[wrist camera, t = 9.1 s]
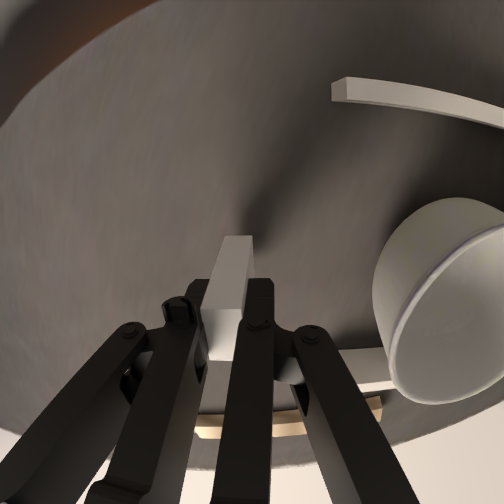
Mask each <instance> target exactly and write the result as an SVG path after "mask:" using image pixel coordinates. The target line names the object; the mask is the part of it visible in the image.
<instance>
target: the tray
mask: <svg viewBox="0 0 504 504" xmlns="http://www.w3.org/2000/svg"><path fill="white" fill-rule="evenodd" d="M331 94H332V101H335V102H350V103H363V104H373V105H383V106H391V107H399V108H406V109H413V110H419V111H425V112H431V113H436V114H441V115H446V116H451V117H456V118H460V119H465V120H469V121H473V122H477V123H481V124H485V125H489V126H492V127H496V128H499V129H503V130H504V109H503V108H500V107H497V106H494V105H491V104H488V103H484V102H481V101H478V100H474V99H471V98H467V97H463V96H460V95H456V94H452V93H447V92H443V91H439V90H434V89H429V88H425V87H419V86H414V85H408V84H402V83H396V82H389V81H382V80H374V79H366V78H356V77H344V78H342V79H340V80H338V81H335V82H333V83H331ZM338 351H339V353H340V355H341V356H342V358H343V360H344V362H345V364H346V365H347V367H348V369H349V371H350V372H351V374H352V376H353V378H354V380H355V382H356V383H357V385H358V387H359V389H360V391H361V392H368V391H377V390H385V389H393V388H396V387H395V386H394V384H393V382H392V379H391V377H390V373H389V368H388V358H387V355H386V352H385V349H384V347H376V348H363V349H348V350H338Z"/></svg>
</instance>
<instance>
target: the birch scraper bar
mask: <svg viewBox="0 0 504 504" xmlns="http://www.w3.org/2000/svg"><path fill="white" fill-rule="evenodd" d="M365 400H366V402H367V403H368V405H369V407H370V409H371V411H372V413H373V414H374V416H375V418H376V420H377V422H379V421H380V419H381V414H382V409H383V408H382V404H381V400H380V396H376V397H371V398H367V399H365ZM223 419H224V415H198V416H197V420H196V425H195V429H194V433H197V434H198V435H199V437H200V438H220V439H221V432H222V426H223ZM300 434H307V432H306V429H305V426H304V423H303V421H302V418H301V415H300V412H299V409H298V410H288V411H278V412H273V431H272V437H278V436H290V435H300Z"/></svg>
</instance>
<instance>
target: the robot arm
mask: <svg viewBox="0 0 504 504" xmlns="http://www.w3.org/2000/svg"><path fill="white" fill-rule="evenodd" d="M161 306H162V310H163V314H164V318H165V322H166V323H165V325H164V327H161V328H157V329H151V330H146V327H145V326H144V325H143V324H142V323H139V322H128V323H126V324H123V325H121V326H120V327H119V328H118V329H117V330H116V331H115V332H114V333H113V334H112V335H111V336H110V337H109V338H108V339H107V340H106V341H105V342H104V343H103V345H102V346H101V347H100V348H99V349H98V350H97V351H96V352H95V353H94V354H93V355H92V356H91V358H90V359H89V360H88V361H87V362H86V363H85V364H84V365H83V366H82V367H81V369H80V370H79V371H78V372H77V373H76V374H75V375H74V376H73V377H72V379H71V380H70V381H69V382H68V383H67V384H66V385H65V386H64V388H63V389H62V390H61V391H60V392H59V393H58V394H57V395H56V397H55V398H54V399H53V400H52V401H51V402H50V403H49V405H48V406H47V407H46V408H45V409H44V410H43V412H42V413H41V414H40V415H39V416H38V417H37V419H36V420H35V421H34V422H33V423H32V425H31V426H30V427H29V428H28V429H27V431H26V432H25V433H24V434H23V435H22V437H21V438H20V439H19V440H18V442H17V443H16V444H15V445H14V447H13V448H12V449H11V450H10V451H9V453H8V454H7V455H6V456H5V458H4V459H3V460H2V461H1V463H0V504H76V502H77V501H78V499H79V498H80V496H81V495H82V494H83V492H84V491H85V489H86V488H87V486H88V485H89V483H90V482H91V480H92V479H93V477H94V476H95V475H96V473H97V472H98V470H99V469H100V467H101V466H102V464H103V463H104V461H105V460H106V458H107V457H108V455H109V454H110V453H111V451H112V450H113V448H114V447H115V445H116V447H115V450H114V453H113V456H112V458H111V461H110V464H109V467H108V470H107V473H106V475H105V477H104V478H103V479H102V480H99V481H96V482H94V483H93V484H92V485H91V487H90V489H89V490H88V493H87V496H86V499H85V501H84V504H179V502H180V497H181V491H182V487H183V482H184V477H185V472H186V467H187V463H188V458H189V453H190V448H191V444H192V439H193V434H194V429H195V425H196V420H197V416H198V411H199V406H200V402H201V397H202V393H203V388H204V384H205V379H206V375H207V370H208V366H207V361H206V359H207V355H208V353H209V358H210V360H222V361H233V362H232V368H231V374H230V381H229V387H228V394H227V400H226V407H225V413H224V419H223V426H222V432H221V439H220V445H219V452H218V458H217V465H216V471H215V478H214V484H213V491H212V497H211V501H210V504H270V484H271V460H272V431H273V393H274V380H277V381H281V382H285V383H289V384H290V387H291V390H292V393H293V395H294V398H295V401H296V404H297V407H298V409H299V412H300V415H301V418H302V421H303V423H304V426H305V429H306V432H307V435H308V437H309V440H310V443H311V446H312V448H313V451H314V454H315V457H316V459H317V462H318V465H319V468H320V470H321V473H322V476H323V479H324V481H325V484H326V487H327V489H328V492H329V495H330V498H331V500H332V503H333V504H420V503H419V501H418V499H417V497H416V495H415V493H414V491H413V489H412V487H411V485H410V483H409V481H408V479H407V477H406V475H405V473H404V471H403V469H402V467H401V466H400V464H399V462H398V460H397V458H396V456H395V454H394V452H393V450H392V448H391V446H390V444H389V443H388V441H387V439H386V437H385V435H384V433H383V431H382V429H381V427H380V426H379V424H378V422H377V420H376V418H375V416H374V414H373V413H372V411H371V409H370V407H369V405H368V403H367V402H366V400H365V398H364V396H363V394H362V392H361V391H360V389H359V387H358V385H357V383H356V382H355V380H354V378H353V376H352V374H351V372H350V371H349V369H348V367H347V365H346V364H345V362H344V360H343V358H342V356H341V355H340V353H339V351H338V349H337V347H336V346H335V344H334V342H333V340H332V339H331V337H330V335H329V333H328V332H327V331H326V330H325V329H323V328H321V327H320V326H315V325H305V326H302V327H299V328H298V329H296V330H295V331H294V332H292V331H288V330H284V329H282V328H281V327H279V326H278V325H277V324H276V322H275V320H274V283H273V282H272V281H271V279H270V278H254V260H253V239H252V235H245V236H225V237H224V240H223V243H222V246H221V249H220V252H219V255H218V257H217V260H216V263H215V266H214V269H213V272H212V275H211V278H210V279H195V280H194V281H193V282H192V283H191V284H190V285H189V286H188V289H187V291H186V293H185V296H178V297H173V298H170V299H168V300H166V301H165V302H164V303H163V304H162V305H161ZM127 369H129V370H128V371H127ZM126 371H127V372H126ZM125 372H126V373H125ZM124 373H125V374H124Z"/></svg>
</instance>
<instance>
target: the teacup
mask: <svg viewBox="0 0 504 504" xmlns="http://www.w3.org/2000/svg"><path fill="white" fill-rule="evenodd" d="M372 300H373V308H374V313H375V318H376V322H377V326H378V329H379V333H380V336H381V339H382V343H383V346H384V349H385V352H386V355H387V358H388V368H389V373H390V377H391V379H392V382H393V384H394V386H395V387H396V388H397V390H398V391H399V392H400V393H401V394H402V395H404V396H405V397H407V398H409V399H411V400H412V401H414V402H418V403H424V404H443V403H451V402H455V401H459V400H463V399H465V398H467V397H470V396H473V395H475V394H477V393H479V392H481V391H483V390H485V389H486V388H488V387H490V386H491V385H493V384H494V383H496V382H497V381H499V380H500V379H501V378H502V377H503V376H504V213H503V212H501V211H500V210H498V209H496V208H494V207H492V206H489V205H487V204H485V203H483V202H480V201H476V200H473V199H468V198H457V197H456V198H446V199H441V200H438V201H434V202H432V203H430V204H427V205H425V206H423V207H422V208H420V209H418V210H417V211H415V212H414V213H412V214H411V215H410V216H409V217H408V218H406V219H405V220H404V221H403V222H402V223H401V224H400V225H399V226H398V227H397V228H396V230H395V231H394V232H393V234H392V235H391V237H390V238H389V239H388V241H387V242H386V244H385V246H384V248H383V250H382V252H381V254H380V257H379V260H378V262H377V265H376V269H375V272H374V279H373V286H372Z"/></svg>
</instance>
